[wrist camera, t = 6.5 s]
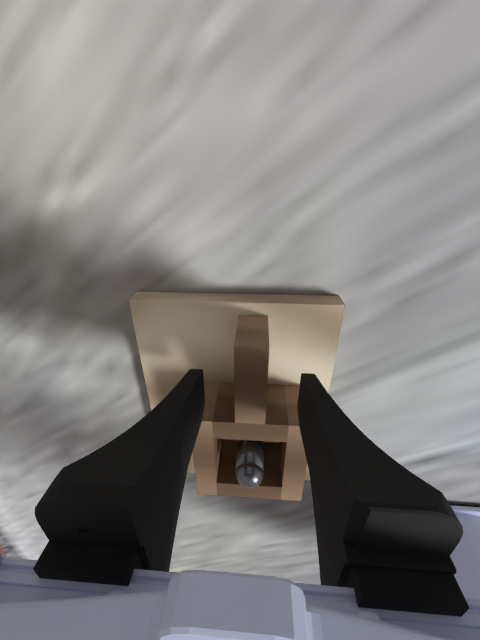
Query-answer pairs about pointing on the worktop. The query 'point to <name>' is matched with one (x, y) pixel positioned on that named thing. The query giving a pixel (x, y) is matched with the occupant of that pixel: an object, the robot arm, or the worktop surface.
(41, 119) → the worktop surface
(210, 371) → the birch board
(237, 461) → the post
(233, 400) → the walnut link
